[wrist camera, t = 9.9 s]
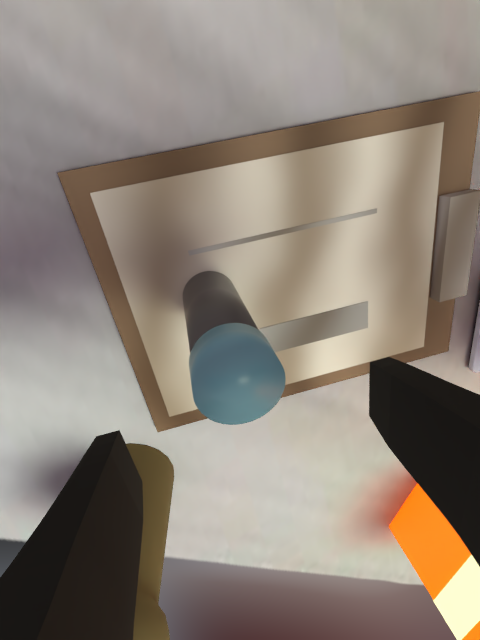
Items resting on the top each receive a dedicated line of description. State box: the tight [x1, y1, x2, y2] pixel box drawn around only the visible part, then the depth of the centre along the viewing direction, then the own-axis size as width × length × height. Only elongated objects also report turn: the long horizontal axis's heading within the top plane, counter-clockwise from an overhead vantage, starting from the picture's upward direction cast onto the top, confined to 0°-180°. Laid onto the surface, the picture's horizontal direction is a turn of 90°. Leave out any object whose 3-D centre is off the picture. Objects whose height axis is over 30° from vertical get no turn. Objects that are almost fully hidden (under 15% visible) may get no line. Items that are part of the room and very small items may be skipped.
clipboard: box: [58, 91, 480, 432], centre depth 18 cm, size 20×15×1 cm
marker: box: [183, 271, 286, 425], centre depth 14 cm, size 3×3×8 cm
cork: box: [126, 444, 174, 640], centre depth 18 cm, size 6×6×11 cm
